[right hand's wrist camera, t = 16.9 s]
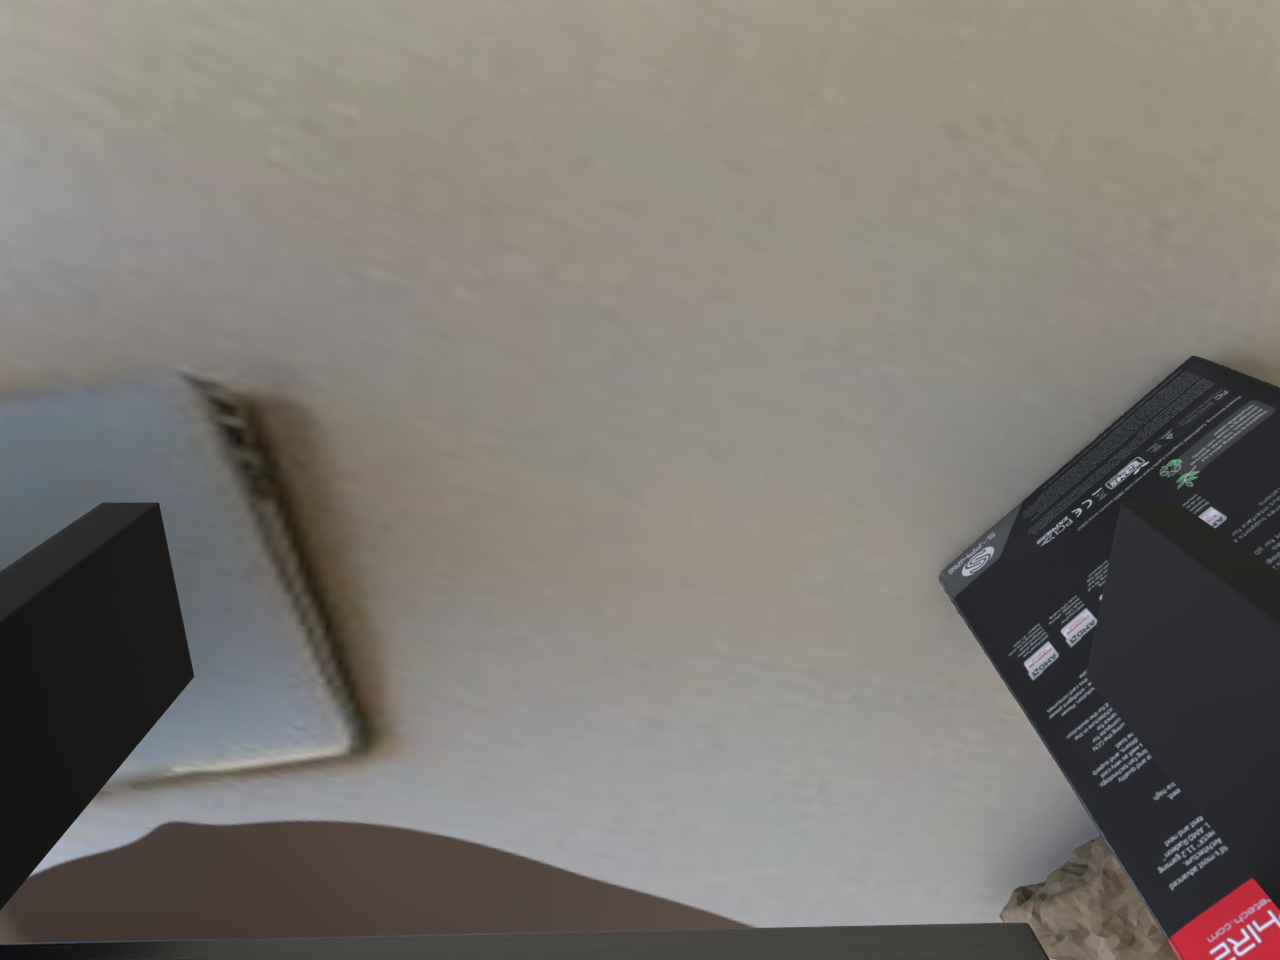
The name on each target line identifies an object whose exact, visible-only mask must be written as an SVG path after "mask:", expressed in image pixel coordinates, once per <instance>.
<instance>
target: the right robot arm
mask: <svg viewBox="0 0 1280 960" xmlns="http://www.w3.org/2000/svg"><path fill="white" fill-rule="evenodd" d="M193 677H194V673H193V668H192V663H191V658H190V654H189V649H188V644H187V639H186V634H185V629H184V624H183V619H182V614H181V609H180V604H179V599H178V595H177V590H176V585H175V580H174V575H173V570H172V565H171V560H170V555H169V550H168V545H167V540H166V536H165V531H164V526H163V521H162V516H161V511H160V506H159V503H101V504H100V505H98V506H97V507H95V508H94V509H92V510H91V511H90V512H88V513H87V514H85V515H84V516H82V517H81V518H79V519H78V520H76V521H75V522H73V523H72V524H70V525H69V526H67V527H66V528H64V529H63V530H61V531H60V532H58V533H57V534H56V535H54V536H53V537H51V538H50V539H48V540H47V541H45V542H44V543H42V544H41V545H39V546H38V547H36V548H35V549H33V550H32V551H30V552H29V553H27V554H26V555H24V556H23V557H21V558H20V559H19V560H17V561H16V562H14V563H13V564H11V565H10V566H8V567H7V568H5V569H4V570H2V571H1V572H0V910H1V909H2V908H3V906H4V905H5V904H6V903H7V902H8V900H9V899H10V898H11V897H12V896H13V894H14V893H15V892H16V891H17V890H18V888H19V887H20V886H21V885H22V884H23V882H24V881H25V880H26V879H27V878H28V876H29V875H30V874H31V873H32V872H33V870H34V869H35V868H36V867H37V866H38V864H39V863H40V862H41V861H42V859H43V858H44V857H45V856H46V855H47V853H48V852H49V851H50V850H51V849H52V847H53V846H54V845H55V844H56V843H57V841H58V840H59V839H60V838H61V837H62V835H63V834H64V833H65V832H66V831H67V829H68V828H69V827H70V826H71V825H72V823H73V822H74V821H75V820H76V819H77V817H78V816H79V815H80V814H81V812H82V811H83V810H84V809H85V808H86V806H87V805H88V804H89V803H90V802H91V800H92V799H93V798H94V797H95V796H96V794H97V793H98V792H99V791H100V790H101V788H102V787H103V786H104V785H105V784H106V782H107V781H108V780H109V779H110V778H111V776H112V775H113V774H114V773H115V771H116V770H117V769H118V768H119V767H120V765H121V764H122V763H123V762H124V761H125V759H126V758H127V757H128V756H129V755H130V753H131V752H132V751H133V750H134V749H135V747H136V746H137V745H138V744H139V743H140V741H141V740H142V739H143V738H144V737H145V735H146V734H147V733H148V732H149V731H150V729H151V728H152V727H153V726H154V724H155V723H156V722H157V721H158V720H159V718H160V717H161V716H162V715H163V714H164V712H165V711H166V710H167V709H168V708H169V706H170V705H171V704H172V703H173V702H174V700H175V699H176V698H177V697H178V696H179V694H180V693H181V692H182V691H183V690H184V688H185V687H186V686H187V685H188V684H189V682H190V681H191V680H192V679H193ZM1086 678H1087V679H1088V680H1089V681H1090V682H1091V684H1092V685H1093V686H1094V687H1095V688H1096V690H1097V691H1098V692H1099V693H1100V694H1101V696H1102V697H1103V698H1104V699H1105V700H1106V702H1107V703H1108V704H1109V705H1110V706H1111V708H1112V709H1113V710H1114V711H1115V713H1116V714H1117V715H1118V716H1119V717H1120V719H1121V720H1122V721H1123V722H1124V723H1125V725H1126V726H1127V727H1128V728H1129V729H1130V731H1131V732H1132V733H1133V734H1134V735H1135V737H1136V738H1137V739H1138V740H1139V741H1140V743H1141V744H1142V745H1143V746H1144V747H1145V749H1146V750H1147V751H1148V752H1149V753H1150V755H1151V756H1152V757H1153V758H1154V760H1155V761H1156V762H1157V763H1158V764H1159V766H1160V767H1161V768H1162V769H1163V770H1164V772H1165V773H1166V774H1167V775H1168V776H1169V778H1170V779H1171V780H1172V781H1173V782H1174V784H1175V785H1176V786H1177V787H1178V788H1179V790H1180V791H1181V792H1182V793H1183V794H1184V796H1185V797H1186V798H1187V799H1188V800H1189V802H1190V803H1191V804H1192V805H1193V807H1194V808H1195V809H1196V810H1197V811H1198V813H1199V814H1200V815H1201V816H1202V817H1203V819H1204V820H1205V821H1206V822H1207V823H1208V825H1209V826H1210V827H1211V828H1212V829H1213V831H1214V832H1215V833H1216V834H1217V835H1218V837H1219V838H1220V839H1221V840H1222V841H1223V843H1224V844H1225V845H1226V846H1227V848H1228V849H1229V850H1230V851H1231V852H1232V854H1233V855H1234V856H1235V857H1236V858H1237V860H1238V861H1239V862H1240V863H1241V864H1242V866H1243V867H1244V868H1245V869H1246V870H1247V872H1248V873H1249V874H1250V875H1251V876H1252V878H1253V879H1254V880H1255V881H1256V882H1257V884H1258V885H1259V886H1260V887H1261V888H1262V890H1263V891H1264V892H1265V893H1266V895H1267V896H1268V897H1269V898H1270V899H1271V901H1272V902H1273V903H1274V904H1275V905H1276V907H1277V908H1278V909H1279V910H1280V572H1279V571H1278V570H1276V569H1275V568H1273V567H1272V566H1270V565H1269V564H1267V563H1266V562H1264V561H1263V560H1261V559H1260V558H1258V557H1257V556H1255V555H1254V554H1253V553H1251V552H1250V551H1248V550H1247V549H1245V548H1244V547H1242V546H1241V545H1239V544H1238V543H1236V542H1235V541H1233V540H1232V539H1230V538H1229V537H1227V536H1226V535H1224V534H1223V533H1221V532H1220V531H1219V530H1217V529H1216V528H1214V527H1213V526H1211V525H1210V524H1208V523H1207V522H1205V521H1204V520H1202V519H1201V518H1199V517H1198V516H1196V515H1195V514H1193V513H1192V512H1190V511H1189V510H1187V509H1186V508H1184V507H1183V506H1182V505H1180V504H1179V503H1121V506H1120V511H1119V516H1118V520H1117V525H1116V530H1115V535H1114V540H1113V545H1112V550H1111V555H1110V560H1109V565H1108V570H1107V575H1106V579H1105V584H1104V589H1103V594H1102V599H1101V604H1100V609H1099V614H1098V619H1097V624H1096V629H1095V634H1094V638H1093V643H1092V648H1091V653H1090V658H1089V663H1088V668H1087V673H1086Z"/></svg>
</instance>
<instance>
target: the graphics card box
mask: <svg viewBox="0 0 1280 960" xmlns="http://www.w3.org/2000/svg"><path fill="white" fill-rule="evenodd" d="M1121 503H1179V504H1180V505H1182V506H1183V507H1184V508H1186V509H1187V510H1189V511H1190V512H1192V513H1193V514H1195V515H1196V516H1198V517H1199V518H1201V519H1202V520H1204V521H1205V522H1207V523H1208V524H1210V525H1211V526H1213V527H1214V528H1216V529H1217V530H1219V531H1220V532H1221V533H1223V534H1224V535H1226V536H1227V537H1229V538H1230V539H1232V540H1233V541H1235V542H1236V543H1238V544H1239V545H1241V546H1242V547H1244V548H1245V549H1247V550H1248V551H1250V552H1251V553H1253V554H1254V555H1255V556H1257V557H1258V558H1260V559H1261V560H1263V561H1264V562H1266V563H1267V564H1269V565H1270V566H1272V567H1273V568H1275V569H1276V570H1278V571H1279V572H1280V387H1277V386H1274V385H1272V384H1270V383H1267V382H1264V381H1261V380H1258V379H1257V378H1253V377H1251V376H1248V375H1245V374H1243V373H1239V372H1238V371H1236V370H1231V369H1230V368H1228V367H1225V366H1223V365H1219V364H1217V363H1214V362H1212V361H1209V360H1206V359H1203V358H1200V357H1196V356H1191V357H1190V358H1189V359H1188V360H1186V361H1185V362H1184V363H1183V364H1182V365H1180V366H1179V367H1178V368H1177V369H1176V370H1175V371H1174V372H1173V373H1172V374H1170V375H1169V376H1167V377H1166V379H1165V380H1163V381H1162V382H1161V383H1160V384H1158V386H1157V387H1155V388H1154V389H1153V390H1151V391H1150V392H1149V393H1148V394H1147V395H1145V396H1144V397H1143V398H1142V399H1141V400H1140V401H1139V402H1137V403H1136V404H1135V405H1134V406H1133V407H1132V408H1131V409H1129V410H1128V411H1127V412H1126V413H1125V414H1124V415H1123V416H1121V417H1120V418H1119V419H1118V420H1116V421H1115V422H1114V423H1113V424H1112V425H1111V426H1110V427H1108V428H1107V429H1106V430H1105V431H1104V432H1103V433H1102V434H1100V435H1099V436H1098V437H1097V438H1096V439H1095V440H1094V441H1093V442H1092V443H1090V444H1089V445H1088V446H1087V447H1086V448H1084V449H1083V450H1082V451H1081V452H1080V453H1079V454H1077V455H1076V456H1075V457H1074V458H1073V459H1072V460H1071V461H1069V462H1068V463H1067V464H1065V465H1064V466H1063V467H1062V468H1061V469H1060V470H1059V471H1058V472H1057V473H1056V474H1054V475H1053V476H1052V477H1050V478H1049V479H1048V480H1047V481H1046V482H1045V483H1043V484H1042V485H1041V486H1040V487H1039V488H1037V489H1036V490H1035V491H1034V492H1033V493H1032V494H1031V495H1030V496H1029V497H1027V498H1026V499H1025V500H1024V501H1023V502H1022V503H1021V504H1019V505H1018V506H1017V507H1016V508H1015V509H1013V510H1012V511H1011V512H1010V513H1009V514H1007V515H1006V516H1005V517H1004V518H1003V519H1002V520H1000V521H999V522H998V523H997V524H996V525H995V526H993V527H992V528H991V529H990V530H989V531H988V532H987V533H986V534H984V535H983V536H982V537H981V538H979V539H978V540H977V541H976V542H975V543H974V544H973V545H972V546H971V547H969V548H968V549H967V550H966V551H964V552H963V554H961V555H960V556H959V557H958V558H957V559H956V560H955V561H953V562H952V563H950V564H949V565H948V566H947V567H946V568H945V569H944V570H943V571H942V572H941V574H940V576H939V578H938V579H939V581H940V583H941V584H942V586H943V587H944V590H945V591H946V593H947V594H948V596H949V598H950V599H951V601H952V603H953V604H954V605H955V607H956V608H957V610H958V613H959V614H960V615H961V616H962V618H963V619H964V621H965V622H966V624H967V625H968V628H969V629H970V630H971V632H972V633H973V635H974V636H975V638H976V640H977V641H978V642H979V644H980V645H981V647H982V649H983V650H984V652H985V654H986V655H987V656H988V658H989V659H990V661H991V662H992V664H993V666H994V667H995V669H996V670H997V672H998V674H999V675H1000V677H1001V678H1002V680H1003V681H1004V683H1005V684H1006V686H1007V687H1008V689H1009V691H1010V692H1011V694H1012V695H1013V696H1014V698H1015V699H1016V701H1017V702H1018V704H1019V705H1020V707H1021V708H1022V710H1023V711H1024V713H1025V715H1026V716H1027V718H1028V719H1029V721H1030V723H1031V724H1032V726H1033V727H1034V729H1035V730H1036V732H1037V733H1038V735H1039V737H1040V738H1041V740H1042V741H1043V743H1044V744H1045V746H1046V748H1047V749H1048V751H1049V752H1050V754H1051V755H1052V757H1053V759H1054V760H1055V762H1056V763H1057V765H1058V766H1059V768H1060V769H1061V771H1062V773H1063V774H1064V776H1065V777H1066V779H1067V781H1068V782H1069V784H1070V786H1071V787H1072V789H1073V790H1074V792H1075V794H1076V795H1077V797H1078V799H1079V800H1080V802H1081V803H1082V805H1083V807H1084V808H1085V810H1086V811H1087V813H1088V815H1089V816H1090V818H1091V819H1092V821H1093V823H1094V824H1095V826H1096V827H1097V829H1098V831H1099V832H1100V834H1101V835H1102V837H1103V839H1104V840H1105V842H1106V843H1107V845H1108V847H1109V848H1110V850H1111V851H1112V853H1113V855H1114V856H1115V858H1116V860H1117V861H1118V863H1119V864H1120V866H1121V867H1122V869H1123V870H1124V872H1125V874H1126V875H1127V877H1128V878H1129V880H1130V881H1131V883H1132V884H1133V886H1134V888H1135V889H1136V891H1137V892H1138V894H1139V896H1140V897H1141V899H1142V901H1143V902H1144V904H1145V905H1146V907H1147V909H1148V910H1149V912H1150V914H1151V915H1152V917H1153V918H1154V920H1155V922H1156V923H1157V925H1158V926H1159V928H1160V930H1161V931H1162V933H1163V934H1164V936H1165V938H1166V939H1167V941H1168V942H1169V944H1170V946H1171V947H1172V949H1173V951H1174V952H1175V954H1176V955H1177V957H1178V959H1179V960H1280V910H1279V909H1278V908H1277V907H1276V905H1275V904H1274V903H1273V902H1272V901H1271V899H1270V898H1269V897H1268V896H1267V895H1266V893H1265V892H1264V891H1263V890H1262V888H1261V887H1260V886H1259V885H1258V884H1257V882H1256V881H1255V880H1254V879H1253V878H1252V876H1251V875H1250V874H1249V873H1248V872H1247V870H1246V869H1245V868H1244V867H1243V866H1242V864H1241V863H1240V862H1239V861H1238V860H1237V858H1236V857H1235V856H1234V855H1233V854H1232V852H1231V851H1230V850H1229V849H1228V848H1227V846H1226V845H1225V844H1224V843H1223V841H1222V840H1221V839H1220V838H1219V837H1218V835H1217V834H1216V833H1215V832H1214V831H1213V829H1212V828H1211V827H1210V826H1209V825H1208V823H1207V822H1206V821H1205V820H1204V819H1203V817H1202V816H1201V815H1200V814H1199V813H1198V811H1197V810H1196V809H1195V808H1194V807H1193V805H1192V804H1191V803H1190V802H1189V800H1188V799H1187V798H1186V797H1185V796H1184V794H1183V793H1182V792H1181V791H1180V790H1179V788H1178V787H1177V786H1176V785H1175V784H1174V782H1173V781H1172V780H1171V779H1170V778H1169V776H1168V775H1167V774H1166V773H1165V772H1164V770H1163V769H1162V768H1161V767H1160V766H1159V764H1158V763H1157V762H1156V761H1155V760H1154V758H1153V757H1152V756H1151V755H1150V753H1149V752H1148V751H1147V750H1146V749H1145V747H1144V746H1143V745H1142V744H1141V743H1140V741H1139V740H1138V739H1137V738H1136V737H1135V735H1134V734H1133V733H1132V732H1131V731H1130V729H1129V728H1128V727H1127V726H1126V725H1125V723H1124V722H1123V721H1122V720H1121V719H1120V717H1119V716H1118V715H1117V714H1116V713H1115V711H1114V710H1113V709H1112V708H1111V706H1110V705H1109V704H1108V703H1107V702H1106V700H1105V699H1104V698H1103V697H1102V696H1101V694H1100V693H1099V692H1098V691H1097V690H1096V688H1095V687H1094V686H1093V685H1092V684H1091V682H1090V681H1089V680H1088V679H1087V678H1086V673H1087V668H1088V663H1089V658H1090V653H1091V648H1092V643H1093V638H1094V634H1095V629H1096V624H1097V619H1098V614H1099V609H1100V604H1101V599H1102V594H1103V589H1104V584H1105V579H1106V575H1107V570H1108V565H1109V560H1110V555H1111V550H1112V545H1113V540H1114V535H1115V530H1116V525H1117V520H1118V516H1119V511H1120V506H1121Z"/></svg>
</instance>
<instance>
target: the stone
mask: <svg viewBox="0 0 1280 960" xmlns="http://www.w3.org/2000/svg"><path fill="white" fill-rule="evenodd" d="M1000 918H1001V919H1002V920H1003V922H1004V923H1028V924H1029V925H1030V927H1031V928H1032V930H1033V932H1034V933H1035V935H1036V937H1037V939H1038V940H1039V942H1040V944H1041V945H1042V947H1043V949H1044V951H1045V952H1046V954H1047V956H1048V957H1050V958H1053V959H1056V960H1179V959H1178V957H1177V955H1176V954H1175V952H1174V951H1173V949H1172V947H1171V946H1170V944H1169V942H1168V941H1167V939H1166V938H1165V936H1164V934H1163V933H1162V931H1161V930H1160V928H1159V926H1158V925H1157V923H1156V922H1155V920H1154V918H1153V917H1152V915H1151V914H1150V912H1149V910H1148V909H1147V907H1146V905H1145V904H1144V902H1143V901H1142V899H1141V897H1140V896H1139V894H1138V892H1137V891H1136V889H1135V888H1134V886H1133V884H1132V883H1131V881H1130V880H1129V878H1128V877H1127V875H1126V874H1125V872H1124V870H1123V869H1122V867H1121V866H1120V864H1119V863H1118V861H1117V860H1116V858H1115V856H1114V855H1113V853H1112V851H1111V850H1110V848H1109V847H1108V845H1107V843H1106V842H1105V840H1104V839H1103V837H1102V835H1100V836H1099V837H1098V838H1096V839H1095V840H1091V841H1089V842H1087V843H1086V844H1084V845H1082V846H1080V847H1078V848H1077V849H1076V850H1075V851H1074V852H1073V853H1072V854H1071V855H1070V858H1069V861H1068V862H1067V863H1065V864H1064V865H1062V866H1059V868H1058V869H1057V870H1055V871H1054V872H1053V873H1051V874H1050V875H1048V879H1047V881H1046V882H1043V883H1039V884H1036V885H1028V886H1021V887H1018V888H1016V889H1015V890H1014V892H1013V893H1012V895H1011V898H1010V900H1009V902H1008V904H1007V905H1006V906H1005V907H1004V908H1003V910H1002V912H1001V914H1000Z"/></svg>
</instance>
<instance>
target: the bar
mask: <svg viewBox="0 0 1280 960" xmlns="http://www.w3.org/2000/svg"><path fill="white" fill-rule="evenodd" d="M0 960H1050V959H1049V957H1048V956H1047V954H1046V952H1045V951H1044V949H1043V947H1042V945H1041V944H1040V942H1039V940H1038V939H1037V937H1036V935H1035V933H1034V932H1033V930H1032V928H1031V927H1030V925H1029V924H1028V923H977V924H928V925H880V926H831V927H783V928H735V929H686V930H637V931H590V932H541V933H492V934H444V935H396V936H347V937H299V938H250V939H202V940H154V941H104V942H56V943H7V944H0Z"/></svg>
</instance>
